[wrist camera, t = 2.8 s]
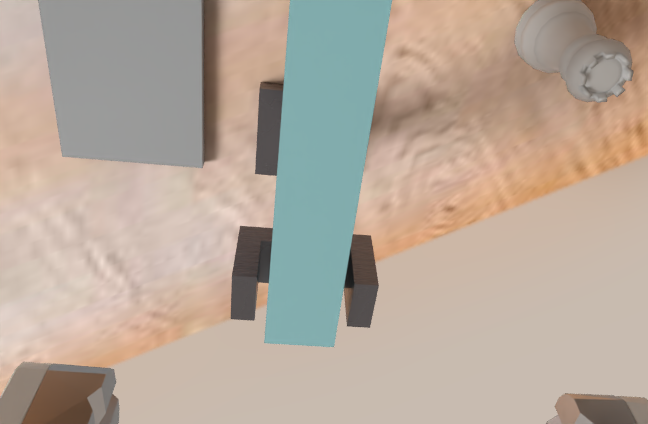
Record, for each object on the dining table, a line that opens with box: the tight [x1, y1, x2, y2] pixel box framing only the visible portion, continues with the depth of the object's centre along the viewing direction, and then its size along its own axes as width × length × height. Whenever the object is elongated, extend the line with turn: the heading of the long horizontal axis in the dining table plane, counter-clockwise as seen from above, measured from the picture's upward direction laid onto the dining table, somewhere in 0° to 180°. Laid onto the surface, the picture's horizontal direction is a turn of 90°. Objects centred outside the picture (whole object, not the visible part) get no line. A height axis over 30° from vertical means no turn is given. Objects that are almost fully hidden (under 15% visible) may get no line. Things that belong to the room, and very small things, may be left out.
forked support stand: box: [231, 82, 379, 328], centre depth 27 cm, size 22×6×16 cm, turn 174°
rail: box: [264, 0, 392, 347], centre depth 21 cm, size 20×3×3 cm, turn 174°
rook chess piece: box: [515, 0, 633, 103], centre depth 32 cm, size 4×4×8 cm
